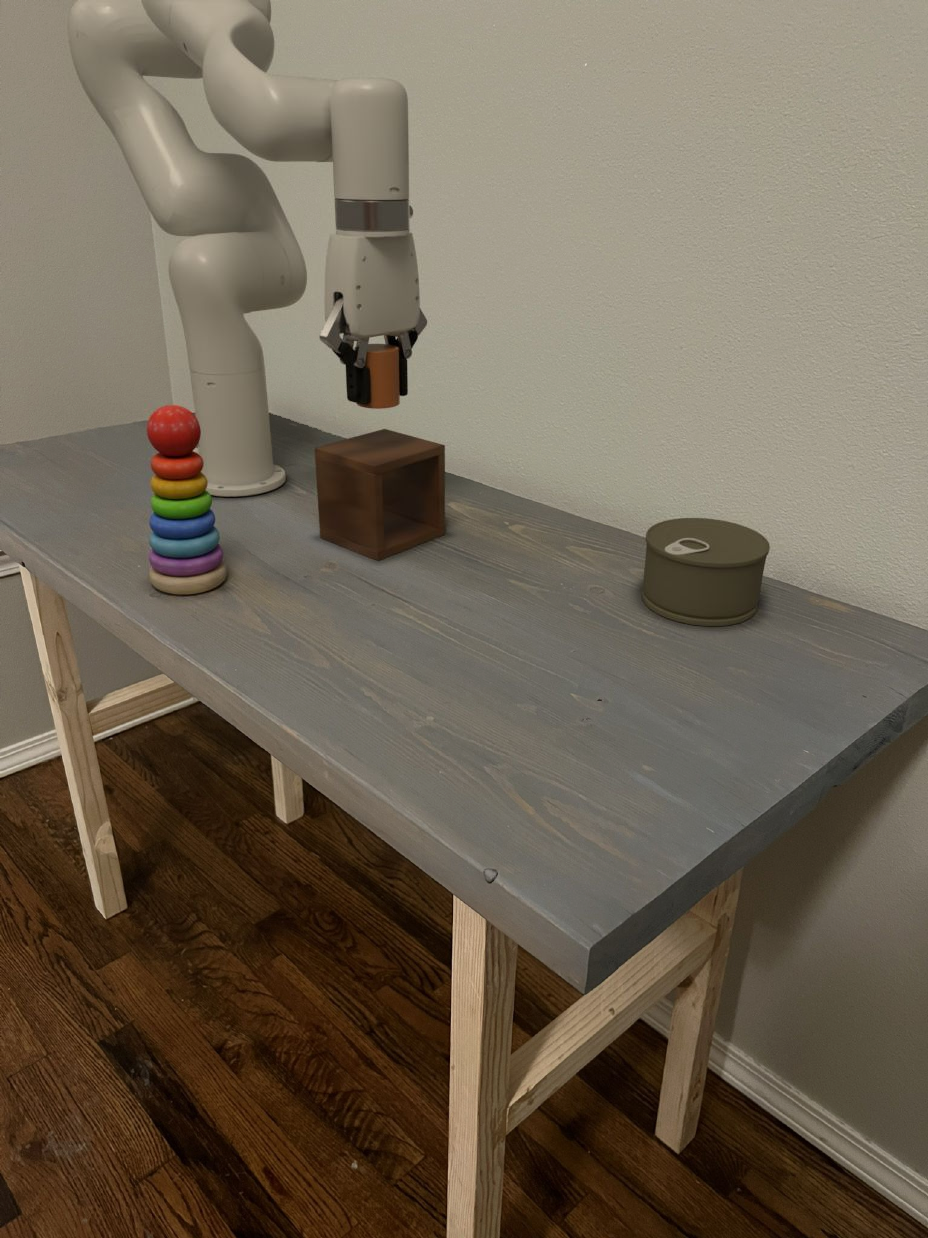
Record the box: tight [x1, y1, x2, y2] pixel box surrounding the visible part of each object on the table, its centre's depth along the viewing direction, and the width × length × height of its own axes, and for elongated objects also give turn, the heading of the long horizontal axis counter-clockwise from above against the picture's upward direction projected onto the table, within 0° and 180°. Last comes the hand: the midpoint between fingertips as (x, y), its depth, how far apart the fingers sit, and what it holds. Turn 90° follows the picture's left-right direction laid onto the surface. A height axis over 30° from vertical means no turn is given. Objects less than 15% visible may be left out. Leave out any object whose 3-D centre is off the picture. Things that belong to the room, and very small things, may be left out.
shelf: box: [314, 428, 446, 562], centre depth 108 cm, size 10×11×11 cm
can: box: [641, 517, 770, 627], centre depth 94 cm, size 12×12×7 cm
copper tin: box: [353, 343, 401, 410], centre depth 101 cm, size 5×5×6 cm
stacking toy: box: [146, 404, 228, 595], centre depth 94 cm, size 8×8×19 cm
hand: (377, 396), depth 102 cm, fingers closed on copper tin, 4 cm apart
